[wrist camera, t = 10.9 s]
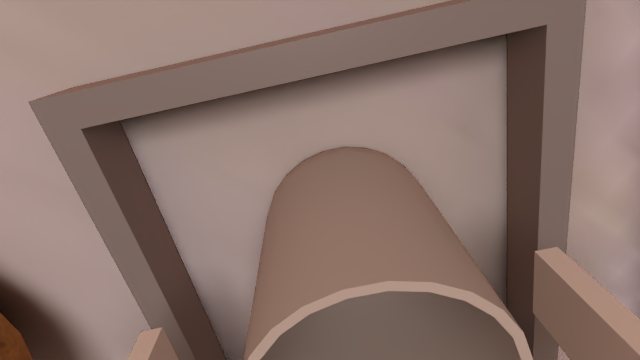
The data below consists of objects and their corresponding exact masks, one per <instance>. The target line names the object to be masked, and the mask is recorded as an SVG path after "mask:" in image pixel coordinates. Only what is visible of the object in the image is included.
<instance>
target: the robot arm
mask: <svg viewBox="0 0 640 360" xmlns="http://www.w3.org/2000/svg"><path fill="white" fill-rule="evenodd" d="M533 313H534V314H535V316H536V317H537V318H538V319H539V321H540V322H541V323H542V324H543V326H544V327H545V328H546V330H547V331H548V332H549V333H550V335H551V336H552V337H553V338H554V340H555V341H556V342H557V343H558V345H559V346H560V347H561V348H562V350H563V351H564V352H565V353H566V355H567V356H568V357H569V358H570V360H640V319H638V318H637V317H636V316H635V315H634V314H633V313H632V312H630V311H629V310H628V309H627V308H626V307H625V306H624V305H623V304H621V303H620V302H619V301H618V300H617V299H616V298H615V297H614V296H612V295H611V294H610V293H609V292H608V291H607V290H606V289H605V288H603V287H602V286H601V285H600V284H599V283H598V282H597V281H595V280H594V279H593V278H592V277H591V276H590V275H589V274H588V273H586V272H585V271H584V270H583V269H582V268H581V267H580V266H579V265H577V264H576V263H575V262H574V261H573V260H572V259H571V258H569V257H568V256H567V255H566V254H565V253H564V252H563V251H562V250H560V249H559V248H558V247H553V248H548V249H543V250H538V251H535V256H534V289H533ZM127 360H179V359H178V357H177V355H176V353H175V351H174V349H173V348H172V346H171V344H170V342H169V340H168V338H167V336H166V334H165V332H164V330H163V328H162V327H161V328H156V329H151V330H147V331H142V332H141V333H140V335H139V337H138V339H137V341H136V343H135V345H134V347H133V349H132V351H131V353H130V355H129V357H128V359H127Z"/></svg>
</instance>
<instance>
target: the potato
mask: <svg viewBox="0 0 640 360" xmlns="http://www.w3.org/2000/svg"><path fill="white" fill-rule="evenodd" d="M0 360H33V359H32V356H31V354H30V352H29V350H28V348H27V346H26V344H25V342H24V340H23V337H22V335H21V333H20V332H19V331H18V330H17V329H16V328H15V327H14V326H13V325H12V324H11V323H10V322H9V321H8V320H7V319H6V318H5V317H4V316H3V315H2V314H1V313H0Z"/></svg>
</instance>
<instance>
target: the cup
mask: <svg viewBox="0 0 640 360" xmlns="http://www.w3.org/2000/svg"><path fill="white" fill-rule="evenodd" d="M243 360H533V357H532V355H531V352H530V349H529V346H528V343H527V340H526V338H525V335H524V332H523V331H522V329H521V328H520V327H519V325H518V324H517V322H516V321H515V319H514V318H513V316H512V315H511V314H510V312H509V311H508V309H507V308H506V306H505V305H504V304H503V302H502V301H501V299H500V298H499V296H498V295H497V293H496V292H495V291H494V289H493V288H492V286H491V285H490V283H489V282H488V281H487V279H486V278H485V276H484V275H483V273H482V272H481V270H480V269H479V268H478V266H477V265H476V263H475V262H474V260H473V259H472V258H471V256H470V255H469V253H468V252H467V250H466V249H465V247H464V246H463V245H462V243H461V242H460V240H459V239H458V237H457V236H456V235H455V233H454V232H453V230H452V229H451V227H450V226H449V224H448V223H447V222H446V220H445V219H444V217H443V216H442V214H441V213H440V212H439V210H438V209H437V207H436V206H435V204H434V203H433V202H432V200H431V199H430V197H429V196H428V194H427V193H426V191H425V190H424V189H423V187H422V186H421V185H420V184H419V182H418V181H417V180H416V179H415V178H414V177H413V175H412V174H411V173H410V172H409V171H408V170H407V169H406V167H405V166H404V165H402V164H401V163H399V162H397V161H396V160H394V159H393V158H391V157H390V156H388V155H386V154H383V153H380V152H377V151H374V150H370V149H367V148H350V147H343V148H338V149H333V150H329V151H324V152H321V153H319V154H317V155H315V156H313V157H311V158H308V159H306V160H304V161H302V162H301V163H300V164H299V165H298V166H297V167H295V168H294V169H293V170H292V171H291V172H290V173H288V174H287V175H286V177H285V178H284V179H283V181H282V182H281V184H280V185H279V187H278V188H277V190H276V191H275V194H274V197H273V200H272V203H271V207H270V210H269V213H268V216H267V221H266V227H265V233H264V239H263V245H262V251H261V257H260V263H259V269H258V275H257V281H256V287H255V293H254V299H253V305H252V311H251V317H250V323H249V329H248V335H247V341H246V347H245V353H244V359H243Z"/></svg>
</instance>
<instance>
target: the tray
mask: <svg viewBox="0 0 640 360" xmlns="http://www.w3.org/2000/svg"><path fill="white" fill-rule="evenodd" d="M585 11H586V0H452V1H447V2H443V3H439V4H434V5H430V6H426V7H421V8H417V9H413V10H408V11H404V12H399V13H395V14H391V15H386V16H382V17H378V18H373V19H369V20H365V21H360V22H356V23H351V24H347V25H343V26H338V27H334V28H330V29H325V30H321V31H317V32H312V33H308V34H304V35H299V36H295V37H290V38H286V39H282V40H277V41H273V42H269V43H264V44H260V45H256V46H251V47H247V48H242V49H238V50H234V51H229V52H225V53H221V54H216V55H212V56H208V57H203V58H199V59H195V60H190V61H186V62H181V63H177V64H173V65H168V66H164V67H160V68H155V69H151V70H147V71H142V72H138V73H134V74H129V75H125V76H120V77H116V78H112V79H107V80H103V81H99V82H94V83H90V84H86V85H81V86H77V87H72V88H69V89H66V90H63V91H60V92H57V93H54V94H51V95H48V96H45V97H42V98H39V99H36V100H33V101H30V102H29V104H30V106H31V108H32V110H33V112H34V113H35V115H36V117H37V119H38V121H39V123H40V125H41V126H42V128H43V130H44V132H45V134H46V136H47V137H48V139H49V141H50V143H51V145H52V147H53V149H54V150H55V152H56V154H57V156H58V158H59V160H60V161H61V163H62V165H63V167H64V169H65V171H66V172H67V174H68V176H69V178H70V180H71V182H72V184H73V185H74V187H75V189H76V191H77V193H78V195H79V196H80V198H81V200H82V202H83V204H84V206H85V208H86V209H87V211H88V213H89V215H90V217H91V219H92V220H93V222H94V224H95V226H96V228H97V230H98V232H99V233H100V235H101V237H102V239H103V241H104V243H105V244H106V246H107V248H108V250H109V252H110V254H111V256H112V257H113V259H114V261H115V263H116V265H117V267H118V268H119V270H120V272H121V274H122V276H123V278H124V280H125V281H126V283H127V285H128V287H129V289H130V291H131V292H132V294H133V296H134V298H135V300H136V302H137V303H138V305H139V307H140V309H141V311H142V313H143V315H144V316H145V318H146V320H147V322H148V324H149V326H150V327H151V329H156V328H161V327H162V328H163V330H164V332H165V334H166V336H167V338H168V340H169V342H170V344H171V346H172V348H173V349H174V351H175V353H176V355H177V357H178V359H179V360H226V358H225V356H224V353H223V351H222V349H221V347H220V344H219V342H218V340H217V338H216V336H215V333H214V331H213V329H212V327H211V324H210V322H209V320H208V318H207V316H206V313H205V311H204V309H203V307H202V304H201V302H200V300H199V298H198V295H197V293H196V291H195V289H194V287H193V284H192V282H191V280H190V278H189V275H188V273H187V271H186V269H185V266H184V264H183V262H182V260H181V258H180V255H179V253H178V251H177V249H176V246H175V244H174V242H173V240H172V238H171V235H170V233H169V231H168V229H167V226H166V224H165V222H164V220H163V217H162V215H161V213H160V211H159V209H158V206H157V204H156V202H155V200H154V197H153V195H152V193H151V191H150V188H149V186H148V184H147V182H146V180H145V177H144V175H143V173H142V171H141V168H140V166H139V164H138V162H137V159H136V157H135V155H134V153H133V151H132V148H131V146H130V144H129V142H128V139H127V137H126V135H125V133H124V131H123V128H122V126H121V124H120V122H119V120H123V119H128V118H132V117H137V116H141V115H146V114H150V113H154V112H159V111H163V110H168V109H172V108H177V107H181V106H186V105H190V104H195V103H199V102H204V101H208V100H212V99H217V98H221V97H226V96H230V95H235V94H239V93H244V92H248V91H253V90H257V89H262V88H266V87H271V86H275V85H279V84H284V83H288V82H293V81H297V80H302V79H306V78H311V77H315V76H320V75H324V74H329V73H333V72H338V71H342V70H346V69H351V68H355V67H360V66H364V65H369V64H373V63H378V62H382V61H387V60H391V59H396V58H400V57H405V56H409V55H413V54H418V53H422V52H427V51H431V50H436V49H440V48H445V47H449V46H454V45H458V44H463V43H467V42H472V41H476V40H480V39H485V38H489V37H494V36H498V35H503V34H507V309H508V311H509V312H510V314H511V315H512V316H513V318H514V319H515V321H516V322H517V324H518V325H519V327H520V328H521V329H522V331H523V332H524V335H525V338H526V340H527V343H528V346H529V349H530V352H531V355H532V357H533V360H557V358H558V346H559V345H558V343H557V342H556V341H555V340H554V338H553V337H552V336H551V335H550V333H549V332H548V331H547V330H546V328H545V327H544V326H543V324H542V323H541V322H540V321H539V319H538V318H537V317H536V316H535V314H534V313H533V289H534V256H535V251H538V250H543V249H548V248H553V247H558V248H559V249H560V250H562V251H563V252H564V253H565V254H566V247H567V234H568V222H569V210H570V197H571V185H572V172H573V160H574V148H575V135H576V123H577V110H578V98H579V86H580V73H581V61H582V48H583V36H584V24H585Z"/></svg>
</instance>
